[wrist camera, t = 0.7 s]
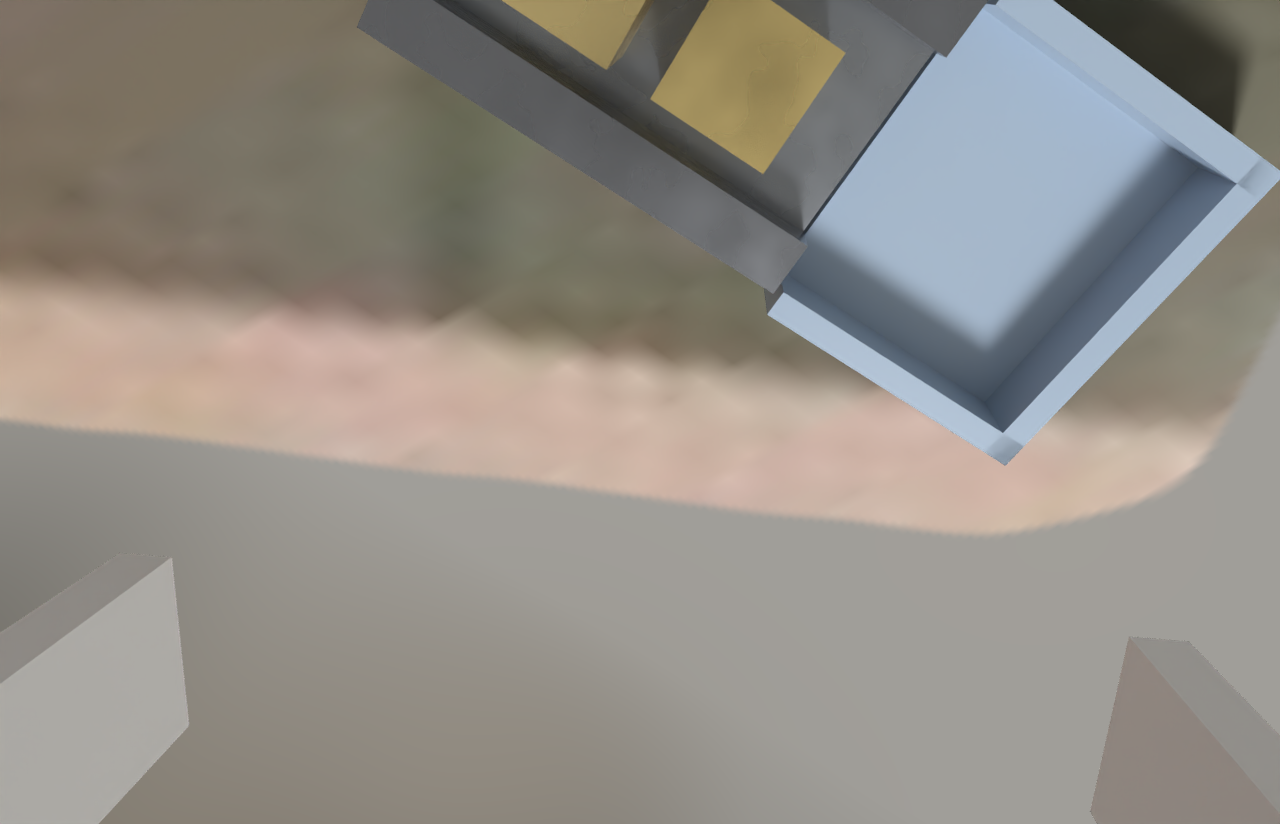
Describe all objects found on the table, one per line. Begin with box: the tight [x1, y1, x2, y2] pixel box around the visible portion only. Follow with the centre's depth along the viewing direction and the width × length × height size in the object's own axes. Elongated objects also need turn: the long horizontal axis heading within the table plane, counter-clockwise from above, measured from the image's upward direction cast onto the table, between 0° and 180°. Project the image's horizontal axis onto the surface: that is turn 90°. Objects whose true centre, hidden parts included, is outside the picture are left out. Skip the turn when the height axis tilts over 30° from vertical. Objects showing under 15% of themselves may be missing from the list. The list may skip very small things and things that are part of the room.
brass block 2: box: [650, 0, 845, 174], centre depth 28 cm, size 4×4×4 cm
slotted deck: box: [357, 0, 988, 294], centre depth 30 cm, size 12×16×4 cm
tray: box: [764, 0, 1280, 466], centre depth 33 cm, size 13×11×4 cm
